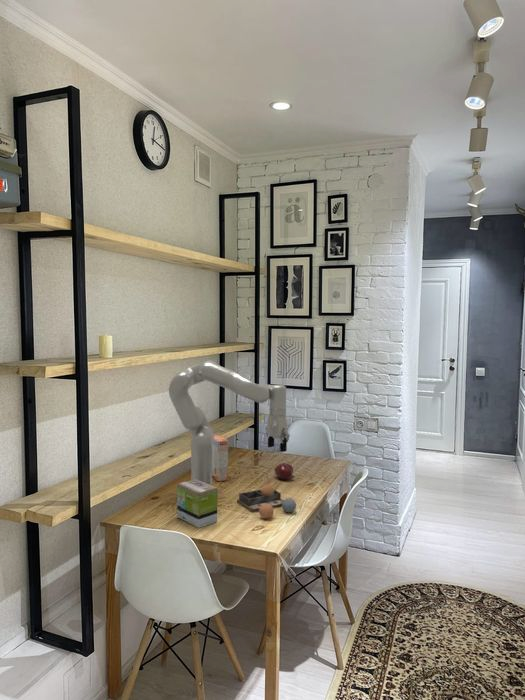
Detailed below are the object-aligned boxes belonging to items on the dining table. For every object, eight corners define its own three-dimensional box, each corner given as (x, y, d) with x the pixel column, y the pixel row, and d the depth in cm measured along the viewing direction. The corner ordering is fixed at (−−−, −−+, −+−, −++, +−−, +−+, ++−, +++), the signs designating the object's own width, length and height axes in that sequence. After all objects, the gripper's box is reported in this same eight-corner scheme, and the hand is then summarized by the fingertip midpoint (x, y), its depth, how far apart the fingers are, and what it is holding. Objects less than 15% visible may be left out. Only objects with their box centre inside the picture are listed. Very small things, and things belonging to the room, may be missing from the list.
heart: (271, 479, 269) (290, 483, 268) (274, 464, 269) (293, 468, 268) (274, 473, 281) (292, 476, 280) (276, 459, 281) (294, 462, 280)
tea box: (176, 518, 219) (176, 482, 218) (195, 511, 226) (195, 477, 225) (198, 528, 208) (198, 492, 207) (218, 522, 215) (218, 486, 214)
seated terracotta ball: (265, 501, 236) (265, 488, 236) (258, 497, 241) (258, 484, 241) (276, 499, 239) (276, 486, 239) (269, 495, 245) (269, 482, 244)
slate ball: (286, 515, 223) (287, 501, 223) (279, 511, 228) (279, 497, 228) (298, 513, 226) (298, 499, 226) (290, 508, 231) (290, 495, 231)
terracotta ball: (263, 521, 216) (263, 507, 216) (256, 516, 221) (256, 502, 221) (276, 519, 219) (276, 504, 219) (268, 514, 224) (268, 500, 224)
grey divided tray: (252, 512, 226) (252, 502, 226) (237, 502, 238) (237, 493, 238) (287, 505, 235) (287, 496, 235) (270, 495, 247) (271, 487, 247)
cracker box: (228, 480, 269) (228, 440, 268) (216, 482, 267) (217, 441, 265) (220, 473, 282) (220, 434, 281) (209, 474, 280) (209, 435, 278)
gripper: (260, 409, 245) (259, 446, 246) (282, 416, 231) (281, 454, 232) (273, 408, 249) (273, 444, 250) (295, 414, 235) (295, 452, 236)
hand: (277, 449), depth 241 cm, fingers open, 9 cm apart
